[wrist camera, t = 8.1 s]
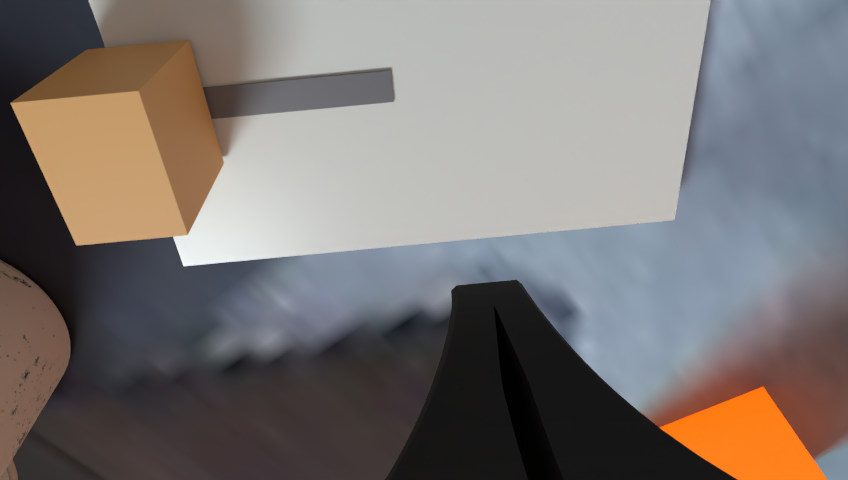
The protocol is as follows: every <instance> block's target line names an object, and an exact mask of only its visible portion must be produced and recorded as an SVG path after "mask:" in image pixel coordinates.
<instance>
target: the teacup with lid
mask: <svg viewBox="0 0 848 480" xmlns="http://www.w3.org/2000/svg"><path fill="white" fill-rule="evenodd" d="M70 351H71V348H70V337H69V332H68V329H67V326H66V324H65V321H64V319H63V317H62V315H61V314H60V312H59V310H58V308H57V307H56V306H55V304H54V303H53V301H52V300H51V299H50V298H49V297H48V295H47V294H46V293H45V292H44V291H43V290H42V289H41V288H40V287H39V286H38V285H37V284H35V283H34V282H33V281H32V280H31V279H30V278H28V277H27V276H25V275H24V274H23V273H21V272H20V271H18V270H17V269H15V268H14V267H12V266H11V265H9V264H7V263H5V262H3V261H1V260H0V480H18V476H17V471H16V468H15V465H14V462H13V460H12V459H13V457H14V455H15V454H16V452H17V450H18V449H19V447H20V445H21V444H22V442H23V440H24V439H25V437H26V436H27V434H28V432H29V431H30V429H31V427H32V426H33V424H34V422H35V421H36V419H37V417H38V416H39V414H40V412H41V411H42V409H43V407H44V406H45V404H46V403H47V401H48V399H49V398H50V396H51V394H52V393H53V391H54V389H55V388H56V386H57V384H58V383H59V381H60V379H61V378H62V376H63V375H64V373H65V370H66V368H67V366H68V363H69V359H70Z"/></svg>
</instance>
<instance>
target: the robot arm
mask: <svg viewBox="0 0 848 480" xmlns="http://www.w3.org/2000/svg"><path fill="white" fill-rule="evenodd" d="M451 293H452V310H451V318H450V323H449V329H448V333H447V337H446V341H445V345H444V349H443V353H442V357H441V360H440V363H439V366H438V369H437V372H436V375H435V378H434V380H433V383H432V386H431V389H430V392H429V394H428V397H427V399H426V402H425V404H424V406H423V409H422V411H421V413H420V416H419V418H418V420H417V422H416V424H415V426H414V429H413V431H412V433H411V434H410V436H409V438H408V440H407V442H406V444H405V446H404V448H403V450H402V452H401V454H400V456H399V457H398V459H397V461H396V463H395V464H394V466H393V468H392V470H391V471H390V473H389V475H388V476H387V478H386V479H385V480H738V479H736V478H734V477H733V476H731V475H729V474H728V473H726V472H724V471H723V470H721V469H720V468H718V467H716V466H715V465H713V464H712V463H710V462H708V461H707V460H705V459H703V458H702V457H700V456H699V455H697V454H696V453H695V452H693V451H692V450H690V449H689V448H687V447H686V446H685V445H683V444H682V443H680V442H679V441H677V440H676V439H675V438H673V437H672V436H670V435H669V434H667V433H666V432H665V431H663V430H662V429H660V428H659V427H658V426H656V425H655V424H654V423H653V422H651V421H650V420H649V419H648V418H646V417H645V416H644V415H643V414H641V413H640V412H639V411H638V410H636V409H635V408H634V407H633V406H632V405H630V404H629V403H628V402H627V401H626V400H625V399H623V398H622V397H621V396H620V395H619V394H618V393H617V392H615V391H614V390H613V389H612V388H611V387H610V386H609V385H608V384H607V383H606V382H605V381H604V380H603V379H602V378H600V377H599V376H598V375H597V374H596V373H595V372H594V371H593V370H592V369H591V368H590V367H589V366H588V365H587V364H586V363H585V362H584V360H583V359H582V358H581V357H580V356H579V355H578V354H577V353H576V352H575V351H574V350H573V349H572V348H571V346H570V345H569V344H568V343H567V342H566V341H565V340H564V338H563V337H562V336H561V335H560V334H559V333H558V332H557V330H556V329H555V328H554V327H553V326H552V324H551V323H550V322H549V321H548V319H547V318H546V317H545V316H544V314H543V313H542V312H541V311H540V309H539V308H538V307H537V305H536V304H535V303H534V301H533V300H532V298H531V297H530V296H529V294H528V293H527V291H526V290H525V288H524V287H523V285H522V284H521V283H520V282H519V281H517V280H511V281H500V282H490V283H479V284H468V285H458V286H456V287H455V288H454V289H453V290H452V291H451Z"/></svg>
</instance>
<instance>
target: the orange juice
mask: <svg viewBox="0 0 848 480" xmlns="http://www.w3.org/2000/svg"><path fill="white" fill-rule="evenodd" d="M660 429H662V430H663V431H665V432H666V433H667V434H669V435H670V436H672V437H673V438H675V439H676V440H677V441H679V442H680V443H682V444H683V445H685V446H686V447H687V448H689V449H690V450H692V451H693V452H695V453H696V454H697V455H699V456H700V457H702V458H703V459H705V460H707V461H708V462H710V463H712V464H713V465H715V466H716V467H718V468H720V469H721V470H723V471H724V472H726V473H728V474H729V475H731V476H733V477H734V478H736V479H738V480H827V479H826V477H825V476H824V474H823V473H822V471H821V470H820V468H819V467H818V466H817V464H816V463H815V461H814V460H813V458H812V457H811V455H810V454H809V452H808V451H807V450H806V448H805V447H804V445H803V444H802V442H801V441H800V439H799V438H798V436H797V435H796V434H795V432H794V431H793V429H792V428H791V426H790V425H789V423H788V422H787V420H786V419H785V418H784V416H783V415H782V413H781V412H780V410H779V409H778V407H777V406H776V404H775V403H774V402H773V400H772V399H771V397H770V396H769V394H768V393H767V391H766V390H765V388H764V387H761V388H758V389H756V390H753V391H751V392H748V393H746V394H743V395H741V396H738V397H736V398H733V399H731V400H728V401H725V402H723V403H720V404H718V405H715V406H713V407H710V408H708V409H705V410H703V411H700V412H698V413H695V414H693V415H690V416H688V417H685V418H683V419H680V420H677V421H675V422H672V423H670V424H667V425H665V426H662V427H660Z"/></svg>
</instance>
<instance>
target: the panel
mask: <svg viewBox="0 0 848 480" xmlns="http://www.w3.org/2000/svg"><path fill="white" fill-rule="evenodd" d="M710 2H711V0H89V3H90V6H91V8H92V11H93V14H94V17H95V20H96V22H97V25H98V28H99V31H100V34H101V36H102V39H103V42H104V45H105V48H108V47H118V46H129V45H139V44H150V43H161V42H171V41H182V40H189V41H190V44H191V48H192V51H193V55H194V58H195V62H196V65H197V69H198V72H199V76H200V80H201V83H202V87H203V90H204V94H205V97H206V101H207V104H208V108H209V111H210V115H211V119H212V122H213V126H214V129H215V133H216V136H217V140H218V143H219V147H220V150H221V154H222V157H223V161H224V165H223V167H222V169H221V170H220V172H219V174H218V176H217V178H216V180H215V182H214V184H213V186H212V188H211V190H210V192H209V194H208V196H207V198H206V200H205V202H204V204H203V206H202V208H201V210H200V212H199V214H198V216H197V218H196V220H195V222H194V224H193V226H192V228H191V230H190V232H189V234H188V235H184V236H174V237H173V238H174V240H175V243H176V246H177V249H178V252H179V254H180V257H181V260H182V263H183V266H191V265H202V264H213V263H223V262H234V261H245V260H255V259H266V258H277V257H287V256H298V255H309V254H319V253H330V252H341V251H351V250H362V249H373V248H383V247H394V246H405V245H415V244H426V243H437V242H447V241H458V240H469V239H479V238H490V237H501V236H511V235H522V234H533V233H543V232H554V231H565V230H575V229H586V228H597V227H607V226H618V225H629V224H639V223H650V222H661V221H671V220H675V214H676V208H677V202H678V195H679V189H680V183H681V177H682V171H683V165H684V159H685V153H686V147H687V141H688V135H689V129H690V123H691V117H692V111H693V105H694V98H695V92H696V86H697V80H698V74H699V68H700V62H701V56H702V50H703V44H704V38H705V32H706V26H707V20H708V14H709V8H710Z"/></svg>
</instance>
